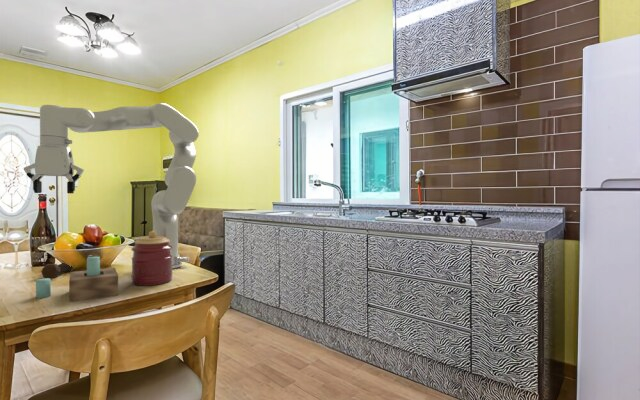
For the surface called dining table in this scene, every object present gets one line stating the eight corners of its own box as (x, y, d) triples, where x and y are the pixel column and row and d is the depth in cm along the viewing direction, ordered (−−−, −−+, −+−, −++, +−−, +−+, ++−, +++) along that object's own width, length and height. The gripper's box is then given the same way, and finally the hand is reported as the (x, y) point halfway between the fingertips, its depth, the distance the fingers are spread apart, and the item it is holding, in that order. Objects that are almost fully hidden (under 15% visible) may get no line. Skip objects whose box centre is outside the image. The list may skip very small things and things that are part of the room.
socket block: (114, 285, 116) (114, 267, 116) (118, 295, 106) (118, 275, 106) (70, 291, 109) (70, 272, 109) (69, 301, 99) (69, 280, 99)
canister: (178, 276, 129) (178, 229, 128) (161, 286, 116) (162, 233, 115) (143, 276, 129) (144, 228, 129) (123, 285, 116) (123, 232, 116)
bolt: (76, 273, 138) (51, 282, 124) (64, 267, 138) (38, 275, 123) (84, 261, 139) (60, 268, 124) (72, 254, 138) (47, 261, 123)
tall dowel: (101, 291, 109) (101, 256, 109) (97, 294, 106) (97, 258, 106) (89, 291, 109) (89, 256, 108) (85, 295, 105) (84, 258, 105)
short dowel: (52, 294, 106) (52, 278, 105) (46, 297, 102) (46, 280, 102) (39, 295, 105) (39, 278, 105) (33, 298, 101) (33, 281, 101)
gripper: (87, 145, 124) (87, 193, 125) (30, 142, 120) (31, 192, 121) (78, 142, 117) (78, 193, 117) (17, 140, 113) (17, 192, 113)
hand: (54, 193), depth 119 cm, fingers open, 9 cm apart
